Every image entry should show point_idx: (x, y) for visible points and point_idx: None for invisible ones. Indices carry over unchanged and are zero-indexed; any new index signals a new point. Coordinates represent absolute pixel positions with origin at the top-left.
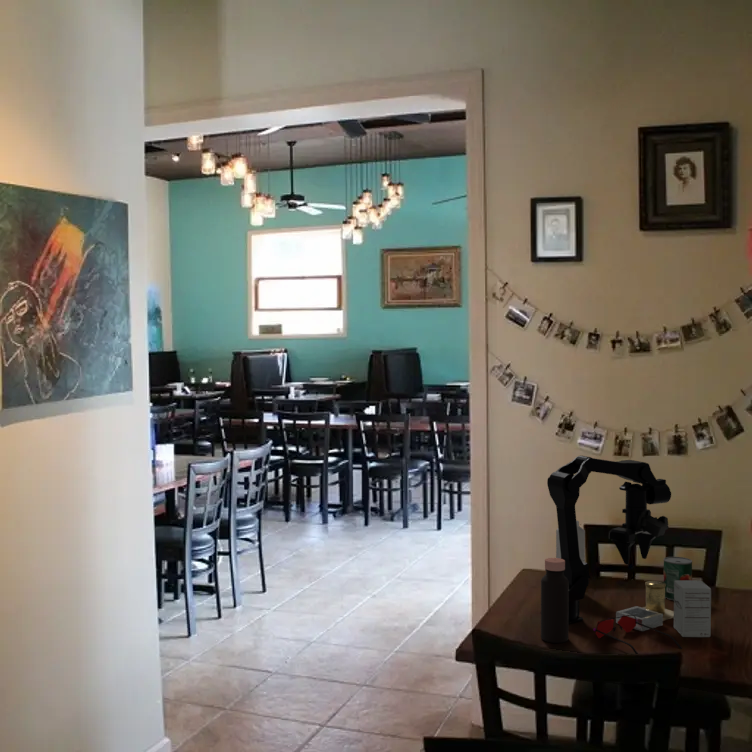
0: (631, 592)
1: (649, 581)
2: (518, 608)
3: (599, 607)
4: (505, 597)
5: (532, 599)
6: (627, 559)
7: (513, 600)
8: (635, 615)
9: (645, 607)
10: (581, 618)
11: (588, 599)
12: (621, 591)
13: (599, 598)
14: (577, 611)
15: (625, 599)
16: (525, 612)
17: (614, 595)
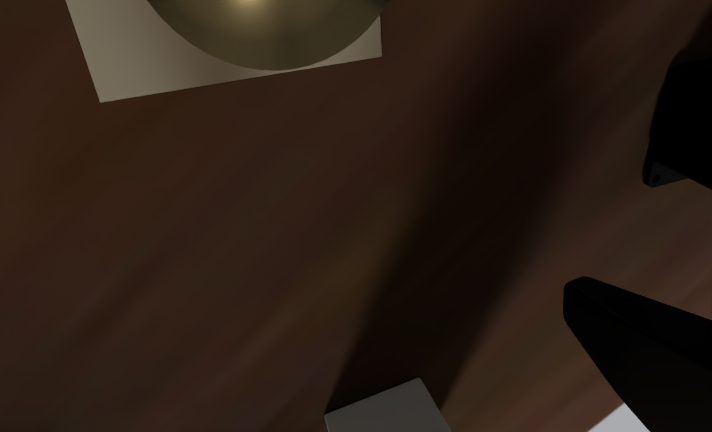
0: (35, 395)
1: (273, 49)
2: (679, 308)
3: (435, 213)
4: (601, 419)
5: (558, 386)
6: (667, 312)
7: (612, 388)
8: None
9: (201, 68)
10: (690, 68)
11: (375, 339)
12: (91, 420)
13: (313, 340)
14: (709, 107)
15: (182, 289)
16: (706, 261)
17: (192, 366)
